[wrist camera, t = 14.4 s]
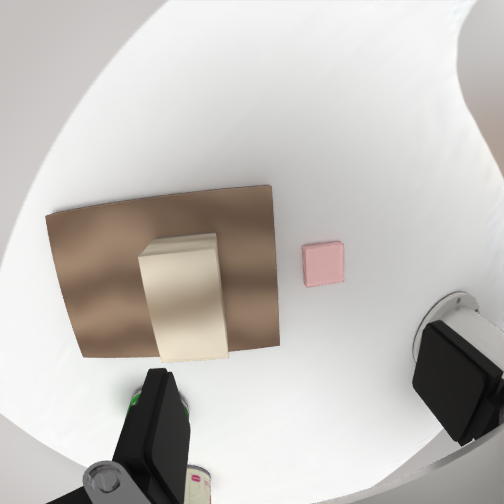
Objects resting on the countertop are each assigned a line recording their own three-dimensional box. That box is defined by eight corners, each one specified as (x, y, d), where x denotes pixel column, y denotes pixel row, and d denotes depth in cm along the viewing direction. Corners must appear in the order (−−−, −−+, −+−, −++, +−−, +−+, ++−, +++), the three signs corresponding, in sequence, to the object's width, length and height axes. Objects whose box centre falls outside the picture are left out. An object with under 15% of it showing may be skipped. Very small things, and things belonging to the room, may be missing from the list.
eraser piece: (306, 287, 30) (303, 282, 31) (343, 281, 30) (338, 276, 32) (305, 249, 29) (301, 245, 30) (343, 244, 29) (338, 240, 30)
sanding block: (226, 322, 29) (228, 357, 23) (171, 327, 28) (161, 362, 23) (216, 231, 26) (214, 249, 21) (155, 237, 26) (138, 256, 20)
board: (276, 335, 32) (279, 345, 30) (88, 348, 30) (83, 357, 28) (268, 184, 28) (271, 186, 26) (54, 212, 26) (45, 215, 24)
